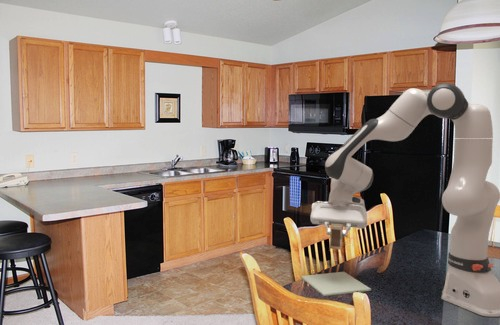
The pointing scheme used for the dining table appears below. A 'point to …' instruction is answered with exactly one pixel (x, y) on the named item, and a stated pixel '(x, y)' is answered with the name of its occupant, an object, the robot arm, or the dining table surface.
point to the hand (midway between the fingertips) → (336, 234)
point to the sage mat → (335, 283)
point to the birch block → (336, 236)
